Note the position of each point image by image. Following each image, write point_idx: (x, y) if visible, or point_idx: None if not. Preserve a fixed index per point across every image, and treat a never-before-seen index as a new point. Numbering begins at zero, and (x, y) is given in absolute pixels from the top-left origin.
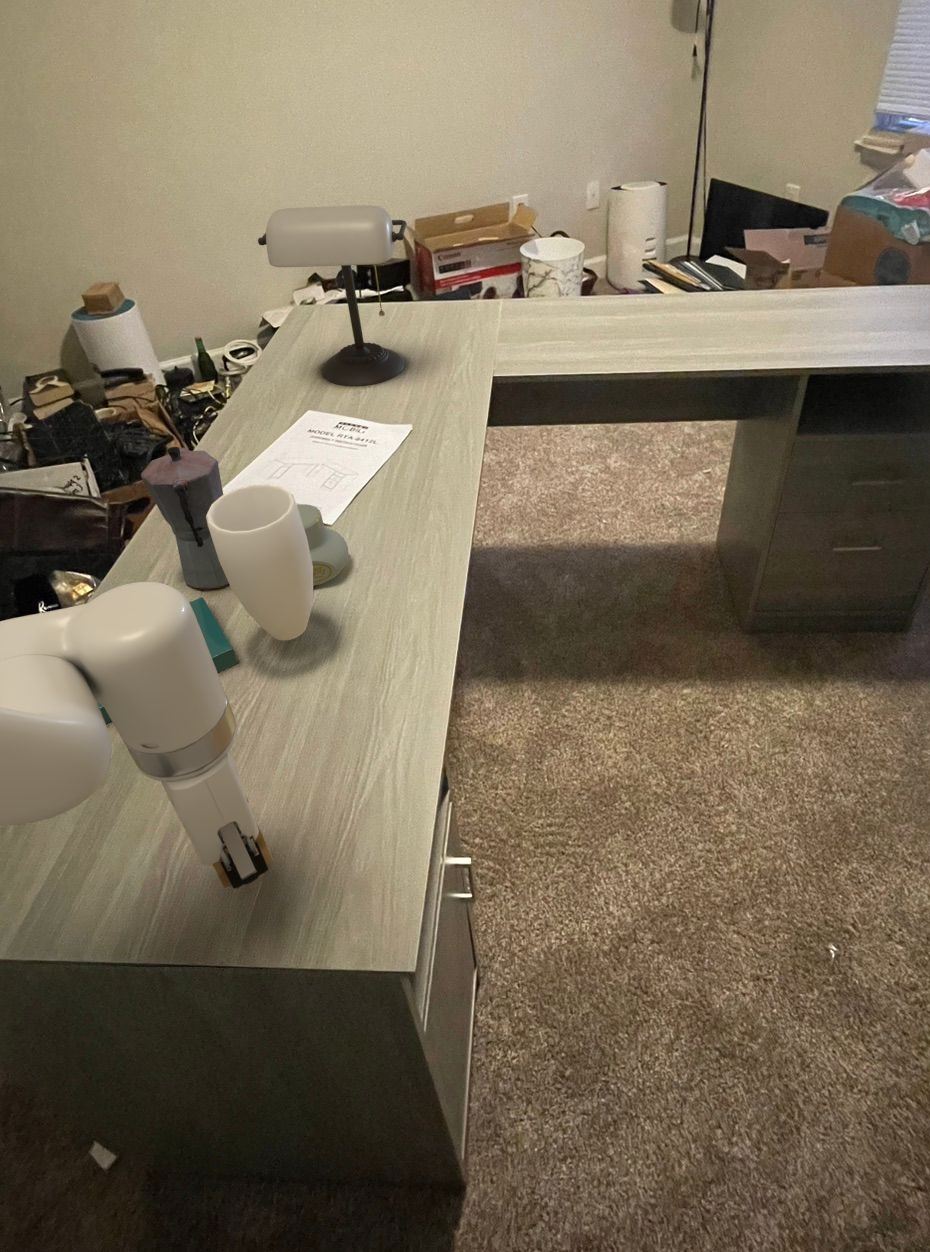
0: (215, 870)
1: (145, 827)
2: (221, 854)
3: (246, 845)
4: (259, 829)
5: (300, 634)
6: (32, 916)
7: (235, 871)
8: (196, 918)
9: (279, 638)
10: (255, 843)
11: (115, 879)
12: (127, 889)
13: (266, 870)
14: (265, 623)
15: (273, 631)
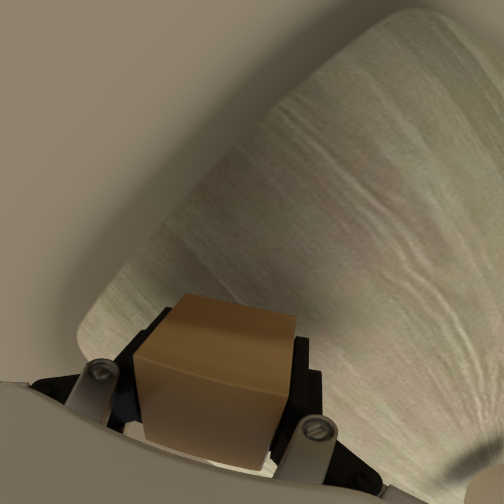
0: (151, 333)
1: (477, 225)
2: (66, 406)
3: (109, 425)
4: (161, 444)
5: (468, 483)
6: (450, 38)
7: (34, 383)
8: (267, 202)
9: (485, 472)
10: (139, 421)
11: (434, 141)
12: (405, 145)
13: None
14: (497, 494)
15: (490, 485)
